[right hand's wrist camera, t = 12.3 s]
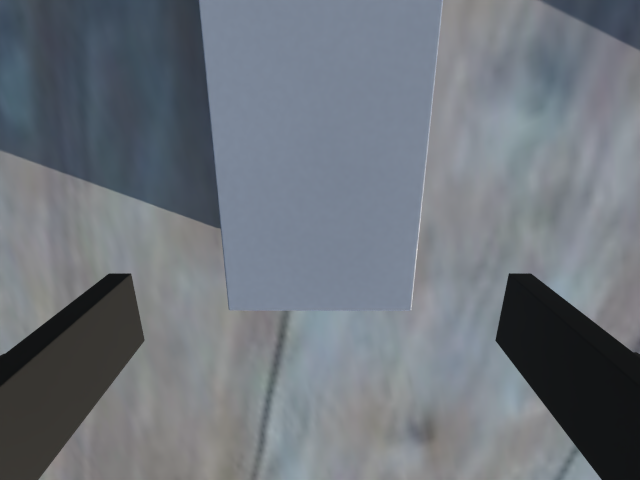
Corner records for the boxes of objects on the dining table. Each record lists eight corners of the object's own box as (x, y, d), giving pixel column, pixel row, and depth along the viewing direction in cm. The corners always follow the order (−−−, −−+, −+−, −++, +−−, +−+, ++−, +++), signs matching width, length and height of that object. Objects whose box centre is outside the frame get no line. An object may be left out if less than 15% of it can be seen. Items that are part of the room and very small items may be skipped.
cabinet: (241, -58, 23) (179, -189, 13) (400, -57, 23) (462, -189, 13) (259, 243, 29) (228, 310, 20) (380, 244, 29) (411, 311, 20)
